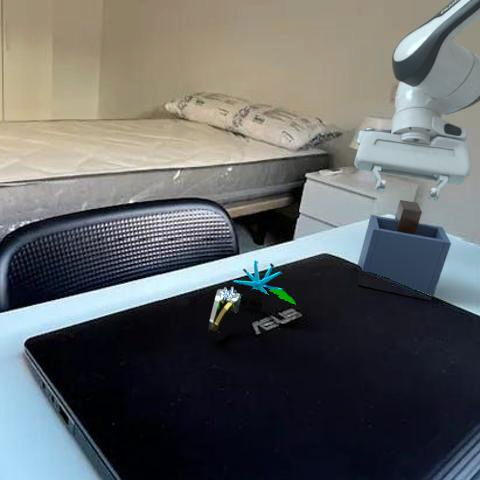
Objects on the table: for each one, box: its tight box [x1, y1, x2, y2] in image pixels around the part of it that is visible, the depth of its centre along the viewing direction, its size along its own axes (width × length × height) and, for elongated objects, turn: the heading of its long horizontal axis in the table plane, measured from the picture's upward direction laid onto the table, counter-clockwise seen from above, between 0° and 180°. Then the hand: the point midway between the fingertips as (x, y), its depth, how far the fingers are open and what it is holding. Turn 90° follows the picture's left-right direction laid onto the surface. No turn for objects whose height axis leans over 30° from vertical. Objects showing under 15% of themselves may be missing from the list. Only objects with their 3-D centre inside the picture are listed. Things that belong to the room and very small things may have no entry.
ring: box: [208, 286, 242, 332], centre depth 68 cm, size 7×3×8 cm, turn 142°
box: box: [357, 214, 452, 297], centre depth 88 cm, size 12×8×11 cm, turn 72°
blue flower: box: [233, 259, 297, 305], centre depth 79 cm, size 12×7×8 cm
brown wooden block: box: [394, 199, 423, 235], centre depth 90 cm, size 3×6×9 cm, turn 161°
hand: (406, 194), depth 94 cm, fingers open, 8 cm apart
